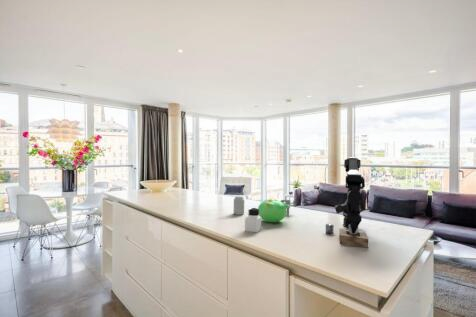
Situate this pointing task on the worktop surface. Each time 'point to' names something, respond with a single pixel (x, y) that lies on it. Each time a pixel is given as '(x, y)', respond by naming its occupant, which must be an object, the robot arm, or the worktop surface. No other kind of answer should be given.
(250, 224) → the medicine bottle
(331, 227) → the short pin
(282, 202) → the mechanical component
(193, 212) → the worktop surface
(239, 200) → the can
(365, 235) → the hole block
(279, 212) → the green rounded lump
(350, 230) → the tall pin
